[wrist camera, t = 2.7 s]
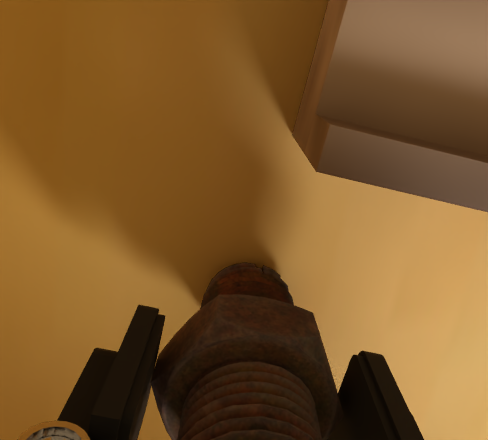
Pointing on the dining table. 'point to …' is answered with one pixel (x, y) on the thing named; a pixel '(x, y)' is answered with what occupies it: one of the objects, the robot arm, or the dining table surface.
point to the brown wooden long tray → (401, 97)
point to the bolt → (247, 366)
